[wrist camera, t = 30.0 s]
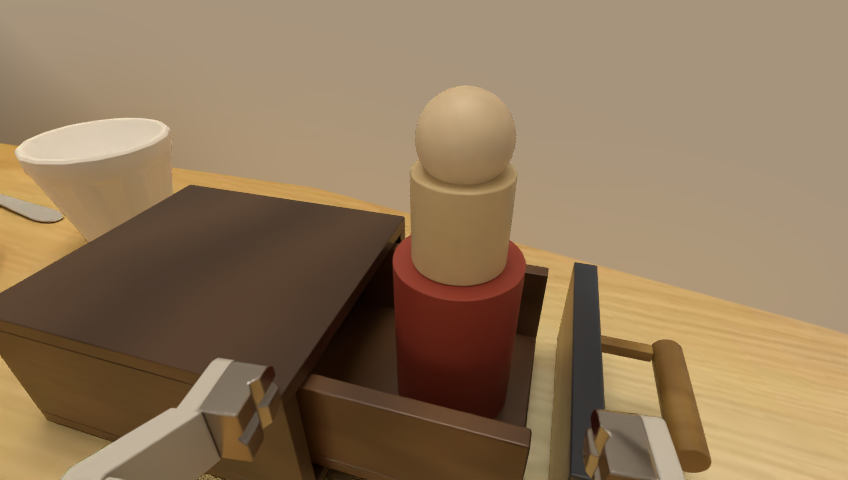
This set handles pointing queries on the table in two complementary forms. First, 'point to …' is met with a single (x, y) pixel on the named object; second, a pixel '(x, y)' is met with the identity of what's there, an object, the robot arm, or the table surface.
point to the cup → (101, 170)
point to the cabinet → (193, 312)
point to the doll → (459, 257)
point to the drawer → (467, 433)
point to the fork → (30, 209)
